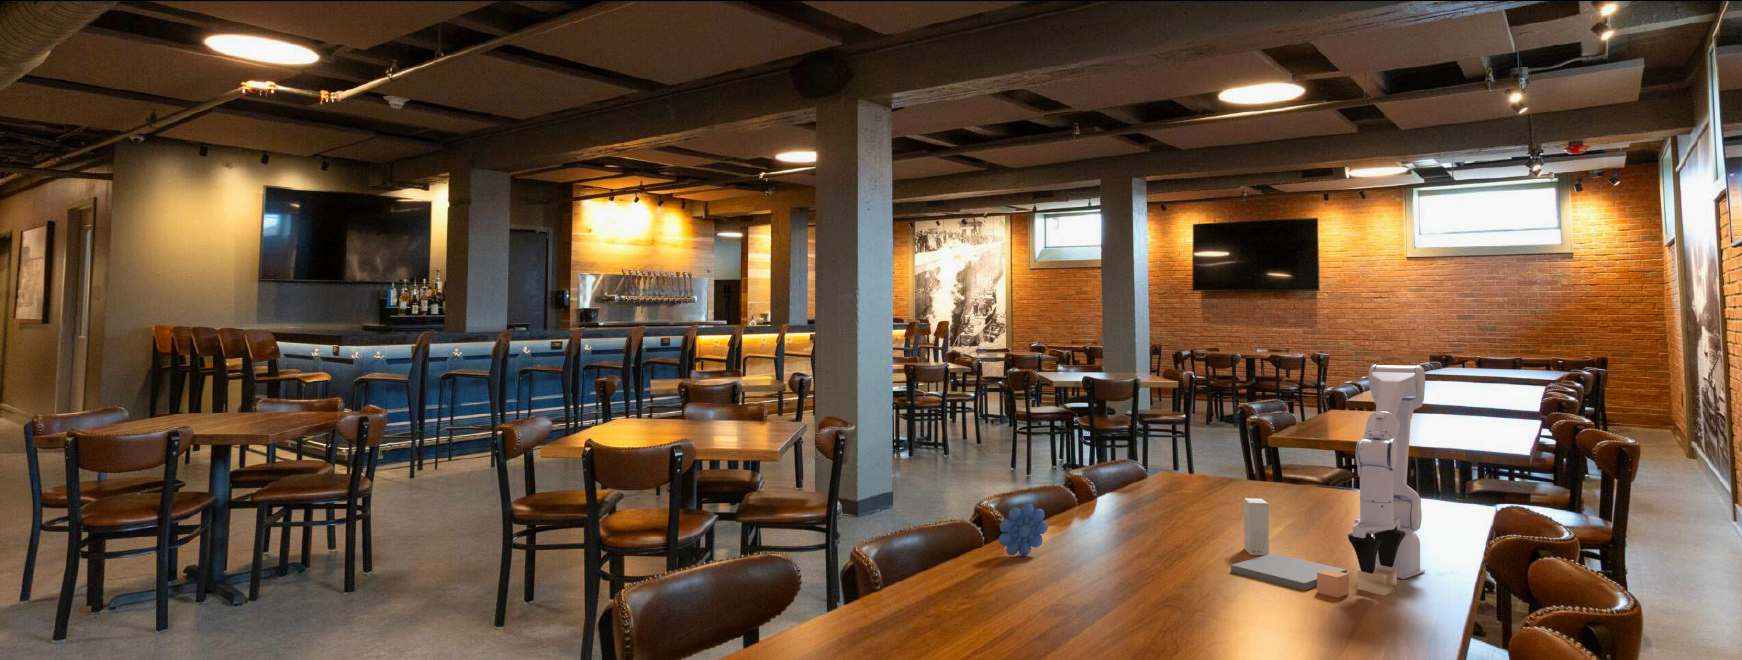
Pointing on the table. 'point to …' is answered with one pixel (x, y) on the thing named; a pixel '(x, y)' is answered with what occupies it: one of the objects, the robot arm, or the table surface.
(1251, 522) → the skincare box
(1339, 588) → the terracotta cube
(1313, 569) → the base board
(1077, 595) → the table surface
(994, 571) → the table surface
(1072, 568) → the table surface
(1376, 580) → the birch block
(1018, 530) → the blue bead flower
